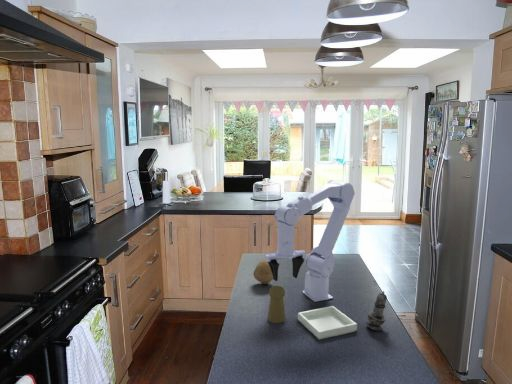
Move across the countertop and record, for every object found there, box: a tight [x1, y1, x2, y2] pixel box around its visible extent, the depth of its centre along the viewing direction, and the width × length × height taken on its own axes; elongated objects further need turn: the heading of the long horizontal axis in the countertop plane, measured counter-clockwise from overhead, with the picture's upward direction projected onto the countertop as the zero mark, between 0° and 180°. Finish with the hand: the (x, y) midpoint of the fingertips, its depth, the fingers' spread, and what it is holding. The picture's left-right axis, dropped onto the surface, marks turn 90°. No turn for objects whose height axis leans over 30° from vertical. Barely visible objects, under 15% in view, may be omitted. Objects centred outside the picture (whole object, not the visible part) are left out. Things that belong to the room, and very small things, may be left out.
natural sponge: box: [252, 259, 274, 285], centre depth 161 cm, size 9×9×10 cm
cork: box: [267, 285, 287, 324], centre depth 132 cm, size 6×6×11 cm
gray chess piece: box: [365, 290, 388, 332], centre depth 126 cm, size 6×6×12 cm
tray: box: [297, 305, 358, 340], centre depth 129 cm, size 14×14×2 cm
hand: (285, 278), depth 140 cm, fingers open, 7 cm apart
